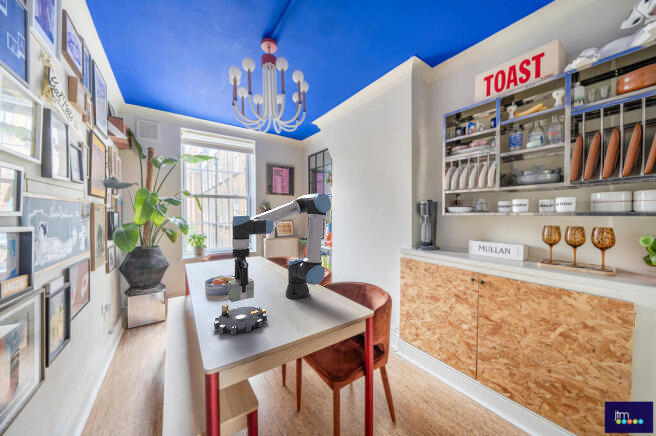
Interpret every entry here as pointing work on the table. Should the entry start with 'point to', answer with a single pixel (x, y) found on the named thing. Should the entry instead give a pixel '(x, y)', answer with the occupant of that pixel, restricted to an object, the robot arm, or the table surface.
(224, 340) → the table surface
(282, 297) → the table surface
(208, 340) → the table surface
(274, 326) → the table surface
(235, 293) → the link block
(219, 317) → the sprocket wheel
